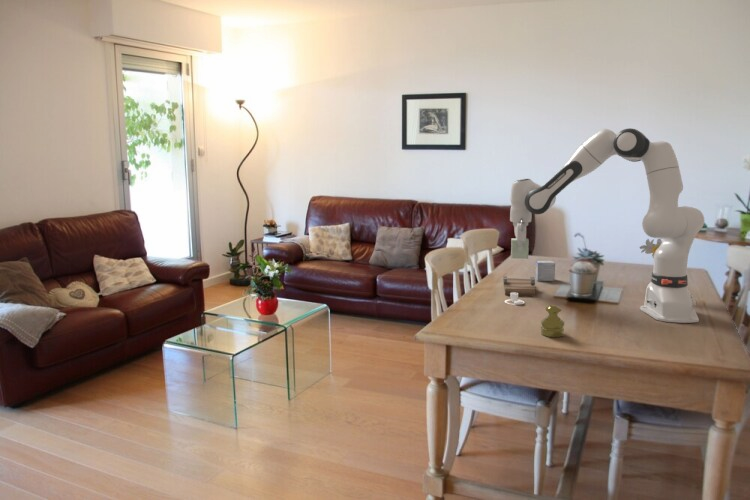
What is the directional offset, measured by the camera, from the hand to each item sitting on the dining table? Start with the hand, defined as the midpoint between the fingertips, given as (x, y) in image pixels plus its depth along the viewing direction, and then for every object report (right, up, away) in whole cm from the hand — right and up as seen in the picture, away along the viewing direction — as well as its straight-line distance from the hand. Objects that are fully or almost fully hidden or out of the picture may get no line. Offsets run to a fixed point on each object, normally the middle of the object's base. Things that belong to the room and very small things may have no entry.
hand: (519, 249), depth 247 cm
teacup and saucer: (-8, -22, -16) cm, 29 cm away
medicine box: (+17, -14, +20) cm, 30 cm away
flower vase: (+55, -20, -11) cm, 59 cm away
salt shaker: (-2, -29, -53) cm, 60 cm away
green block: (0, -4, +1) cm, 4 cm away
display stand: (0, -18, +3) cm, 18 cm away
